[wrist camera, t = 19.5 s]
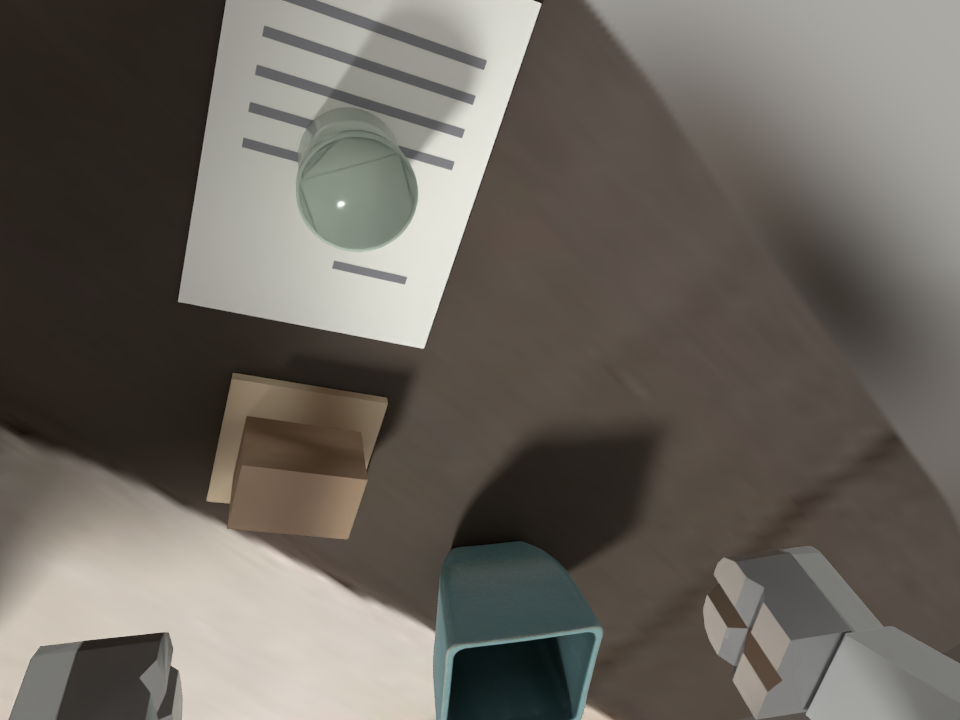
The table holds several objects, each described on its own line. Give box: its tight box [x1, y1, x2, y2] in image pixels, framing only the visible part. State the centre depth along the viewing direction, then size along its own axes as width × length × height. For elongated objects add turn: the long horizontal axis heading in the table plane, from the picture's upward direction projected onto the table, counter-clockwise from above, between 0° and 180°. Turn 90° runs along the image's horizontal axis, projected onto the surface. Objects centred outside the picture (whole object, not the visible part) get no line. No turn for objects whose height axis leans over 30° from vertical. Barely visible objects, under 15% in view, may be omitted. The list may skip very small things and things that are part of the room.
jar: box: [296, 108, 418, 252], centre depth 29 cm, size 5×5×5 cm
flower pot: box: [433, 541, 603, 720], centre depth 43 cm, size 9×9×9 cm
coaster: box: [207, 373, 388, 504], centre depth 38 cm, size 8×8×1 cm
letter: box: [178, 0, 541, 349], centre depth 31 cm, size 12×17×1 cm
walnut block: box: [227, 416, 367, 539], centre depth 36 cm, size 6×4×4 cm, turn 70°
